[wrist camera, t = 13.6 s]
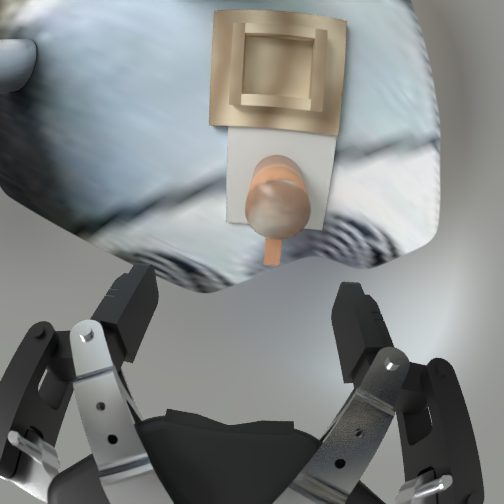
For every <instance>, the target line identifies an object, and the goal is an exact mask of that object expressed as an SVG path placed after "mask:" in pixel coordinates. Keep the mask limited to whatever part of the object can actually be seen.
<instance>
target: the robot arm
mask: <svg viewBox="0 0 504 504" xmlns="http://www.w3.org/2000/svg"><path fill="white" fill-rule="evenodd" d="M35 62H36V45H35V43H34V42H33V41H32V40H30V39H5V40H0V94H3V93H8V92H13V91H17V90H19V89H21V88H22V87H23V86H24V85H25V84H26V83H27V81H28V80H29V78H30V76H31V74H32V72H33V69H34V66H35ZM158 297H159V295H158V288H157V283H156V276H155V270H154V267H153V265H150V264H140V263H136V264H135V265H134V266H133V267H132V269H131V270H130V272H129V273H128V274H127V273H124V274H123V275H121V276H120V277H119V278H117V279H116V280H115V282H114V283H113V285H112V286H111V287H110V289H109V290H108V292H107V294H106V296H105V297H104V299H103V300H102V301H101V303H100V304H99V306H98V308H97V309H96V311H95V312H94V314H93V316H92V317H91V319H90V320H84V321H81V322H79V323H77V324H76V325H75V326H74V327H73V328H72V330H71V331H55V330H54V328H53V326H52V325H51V324H50V323H49V322H45V321H43V322H38V323H36V324H34V325H33V326H32V327H31V328H30V329H29V330H28V332H27V334H26V335H25V337H24V339H23V340H22V342H21V344H20V345H19V347H18V349H17V351H16V353H15V354H14V356H13V358H12V360H11V362H10V364H9V365H8V367H7V369H6V371H5V373H4V375H3V378H2V380H1V381H0V477H1V478H3V479H5V480H7V481H9V482H11V483H14V484H16V485H18V486H20V487H21V488H22V489H24V490H26V491H27V492H29V493H30V494H32V495H33V496H35V497H37V498H39V499H40V500H42V501H43V502H46V503H47V504H386V503H384V502H383V501H382V500H381V499H380V498H379V497H378V496H377V495H375V494H374V493H373V492H372V491H371V490H370V489H369V488H368V487H366V485H365V484H363V483H362V482H361V481H360V478H361V476H362V475H363V473H364V471H365V470H366V468H367V467H368V465H369V463H370V462H371V460H372V458H373V456H374V455H375V453H376V451H377V449H378V447H379V446H380V444H381V442H382V440H383V438H384V436H385V434H386V432H387V430H388V428H389V426H390V424H391V422H392V419H393V418H394V415H395V411H396V415H397V421H398V427H399V433H400V439H401V446H402V455H403V463H404V473H405V483H404V484H403V485H402V487H401V488H400V490H399V492H398V495H397V497H396V504H483V502H484V487H483V479H482V473H481V466H480V460H479V455H478V450H477V446H476V441H475V436H474V432H473V429H472V424H471V421H470V417H469V413H468V410H467V407H466V404H465V400H464V397H463V394H462V391H461V388H460V385H459V382H458V380H457V377H456V374H455V371H454V369H453V367H452V365H450V363H449V362H447V361H446V360H444V359H442V358H434V359H432V360H431V361H430V362H429V363H428V364H427V366H426V365H421V364H417V363H412V362H409V359H408V357H407V356H406V355H405V354H404V353H403V352H402V351H401V350H399V349H397V348H394V345H393V343H392V340H391V337H390V335H389V332H388V329H387V327H386V324H385V322H384V321H383V317H382V314H380V309H379V307H378V305H377V303H376V302H375V300H374V299H373V298H372V297H371V296H370V295H365V294H364V292H363V289H362V287H361V284H360V283H357V282H356V283H355V282H342V283H341V285H340V287H339V290H338V293H337V297H336V299H335V303H334V305H333V309H332V315H331V320H332V326H333V330H334V335H335V339H336V344H337V349H338V354H339V359H340V364H341V370H342V375H343V380H344V383H353V384H354V390H353V391H352V392H351V394H350V396H349V397H348V399H347V400H346V402H345V404H344V405H343V406H342V408H341V410H340V411H339V413H338V414H337V415H336V417H335V418H334V420H333V421H332V423H331V424H330V425H329V427H328V428H327V429H326V430H325V432H324V433H323V434H322V436H321V437H320V438H319V439H317V438H315V437H313V436H312V435H310V434H308V433H306V432H303V431H300V430H297V429H294V422H293V421H257V422H251V423H245V424H237V425H226V424H223V423H220V422H217V421H214V420H212V419H209V418H206V417H203V416H201V415H198V414H194V413H188V412H182V411H177V410H172V409H167V411H166V415H165V416H158V417H153V418H149V419H146V420H144V419H143V417H142V415H141V413H140V412H139V410H138V408H137V406H136V404H135V401H134V399H133V397H132V394H131V391H130V389H129V386H128V384H127V381H126V379H125V376H124V373H123V371H122V369H121V366H122V364H123V361H126V362H130V363H133V361H134V359H135V356H136V354H137V351H138V349H139V346H140V344H141V341H142V339H143V337H144V334H145V332H146V330H147V327H148V325H149V323H150V320H151V318H152V316H153V313H154V311H155V309H156V307H157V304H158ZM45 369H47V371H48V372H47V374H46V376H45V378H44V380H43V383H42V385H41V387H40V390H39V392H38V385H39V382H40V380H41V378H42V376H43V374H44V372H45ZM73 391H74V392H75V396H76V401H77V405H78V409H79V412H80V416H81V420H82V423H83V426H84V429H85V433H86V436H87V439H88V442H89V445H90V448H91V450H92V454H90V455H89V456H87V457H86V458H84V459H82V460H81V461H79V462H78V463H76V464H74V465H72V466H71V467H69V468H67V469H66V470H64V471H62V472H61V473H59V472H58V469H59V468H60V462H59V460H58V456H57V452H56V450H55V449H54V447H55V444H56V440H57V437H58V434H59V430H60V427H61V424H62V421H63V418H64V415H65V412H66V410H67V407H68V404H69V401H70V398H71V396H72V393H73ZM428 407H429V410H428ZM429 411H430V414H429ZM430 415H431V419H432V423H431V419H430Z"/></svg>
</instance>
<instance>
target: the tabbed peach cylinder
mask: <svg viewBox="0 0 504 504" xmlns="http://www.w3.org/2000/svg"><path fill="white" fill-rule="evenodd" d="M310 215H311V204H310V200H309V197H308V194H307V191H306V187H305V184H304V181H303V178H302V175H301V172H300V169H299V167H298V166H297V164H296V163H295V162H294V161H293V160H291V159H290V158H288V157H285V156H282V155H272V156H268V157H266V158H264V159H262V160H261V161H260V162H259V163H258V164H257V165H256V167H255V169H254V171H253V175H252V179H251V183H250V187H249V191H248V195H247V199H246V203H245V216H246V219H247V221H248V223H249V225H250V226H251V228H252V229H253V230H254V231H255V232H257V233H258V234H260V235H262V236H264V237H266V239H265V252H264V265H276V266H279V263H280V255H281V247H282V239H286V238H290V237H292V236H294V235H296V234H298V233H299V232H300V231H302V230H303V229H304V227H305V226H306V225H307V223H308V221H309V218H310Z"/></svg>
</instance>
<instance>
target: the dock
mask: <svg viewBox="0 0 504 504" xmlns="http://www.w3.org/2000/svg"><path fill="white" fill-rule="evenodd" d="M346 26H347V21H344V20H339V19H334V18H329V17H324V16H318V15H311V14H303V13H295V12H285V11H271V10H217V11H215V14H214V27H213V41H212V58H211V79H210V107H209V125H223V126H251V127H267V128H280V129H290V130H300V131H308V132H316V133H323V134H330V135H336V136H338V132H339V124H340V114H341V105H342V94H343V82H344V69H345V52H346Z"/></svg>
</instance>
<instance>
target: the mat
mask: <svg viewBox="0 0 504 504" xmlns="http://www.w3.org/2000/svg"><path fill="white" fill-rule="evenodd" d="M336 138H337V136H336V135H330V134H323V133H316V132H308V131H300V130H290V129H280V128H267V127H251V126H228V145H227V191H226V222H230V223H244V224H249V223H248V221H247V219H246V216H245V203H246V199H247V195H248V191H249V187H250V183H251V179H252V175H253V171H254V169H255V167H256V165H257V164H258V163H259V162H260V161H261V160H262V159H264V158H266V157H268V156H272V155H282V156H285V157H288V158H290V159H291V160H293V161H294V162H295V163H296V164H297V166H298V167H299V169H300V172H301V175H302V178H303V181H304V184H305V187H306V191H307V194H308V197H309V200H310V204H311V215H310V218H309V221H308V223H307V225H306V226H305V227H304V229H315V230H322V228H323V222H324V217H325V211H326V205H327V199H328V193H329V187H330V181H331V174H332V168H333V161H334V153H335V146H336Z"/></svg>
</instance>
